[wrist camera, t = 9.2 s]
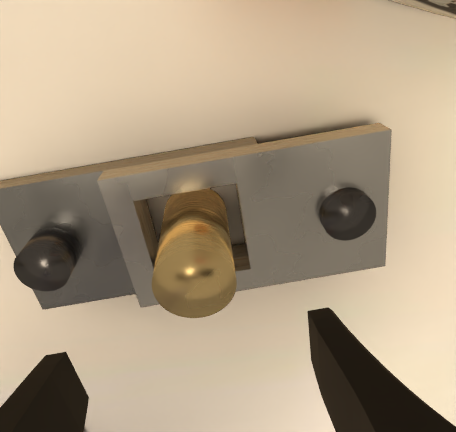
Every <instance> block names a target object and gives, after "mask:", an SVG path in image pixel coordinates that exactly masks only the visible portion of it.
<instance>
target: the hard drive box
mask: <svg viewBox="0 0 456 432" xmlns="http://www.w3.org/2000/svg"><path fill="white" fill-rule="evenodd" d="M390 1H394V2H397V3H400V4H404V5H407V6H411V7H415V8H418V9H422V10H426V11H429V12H432V13H435V14H440V15H444V16H448V17H452V18H456V0H390Z"/></svg>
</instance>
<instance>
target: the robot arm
mask: <svg viewBox="0 0 456 432" xmlns="http://www.w3.org/2000/svg"><path fill="white" fill-rule="evenodd" d="M308 323H309V336H310V349H311V361H312V364H313V368H314V371H315V375H316V379H317V382H318V385H319V389H320V392H321V395H322V398H323V401H324V403H325V406H326V408H327V411H328V413H329V416H330V418H331V421H332V423H333V426H334V428H335V431H336V432H456V427H455V426H454V425H453V424H451V423H450V422H449V421H447V420H446V419H445V418H444V417H442V416H441V415H440V414H439V413H437V412H436V411H435V410H433V409H432V408H431V407H430V406H428V405H427V404H426V403H425V402H424V401H422V400H421V399H420V398H419V397H418V396H416V395H415V394H414V393H413V392H412V391H411V390H409V389H408V388H407V387H406V386H405V385H404V384H403V383H402V382H401V381H399V380H398V379H397V378H396V377H395V376H394V375H393V374H392V373H391V372H390V371H389V370H387V369H386V368H385V367H384V366H383V365H382V364H381V363H380V362H379V361H378V360H377V359H376V358H375V357H374V356H373V355H372V354H371V353H370V352H369V351H368V350H367V349H366V348H365V347H364V346H363V345H362V344H361V343H360V342H359V341H358V339H357V338H356V337H355V336H354V335H353V334H352V333H351V332H350V331H349V330H348V328H347V327H346V326H345V325H344V324H343V323H342V322H341V320H340V319H339V318H338V317H337V316H336V314H335V313H334V312H333V311H332V310H331V309H330V308H323V309H317V310H311V311H308ZM88 399H89V397H88V395H87V393H86V391H85V389H84V387H83V385H82V383H81V381H80V379H79V377H78V375H77V373H76V371H75V369H74V367H73V365H72V363H71V361H70V359H69V357H68V355H67V353H66V352H63V353H57V354H51V355H46V356H45V357H44V358H43V359H42V360H41V361H40V362H39V363H38V365H37V366H36V367H35V368H34V369H33V370H32V371H31V373H30V374H29V375H28V376H27V377H26V378H25V380H24V381H23V382H22V383H21V384H20V385H19V387H18V388H17V389H16V390H15V391H14V392H13V394H12V395H11V396H10V397H9V398H8V399H7V400H6V402H5V403H4V404H3V405H2V406H1V407H0V432H83V431H84V425H85V419H86V413H87V406H88Z"/></svg>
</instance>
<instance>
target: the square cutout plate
mask: <svg viewBox="0 0 456 432" xmlns="http://www.w3.org/2000/svg"><path fill="white" fill-rule="evenodd" d="M390 151H391V129H390V128H388V127H386V126H384V125H382V124H381V123H375V124H369V125H364V126H358V127H352V128H346V129H340V130H335V131H329V132H323V133H317V134H312V135H306V136H300V137H294V138H289V139H283V140H277V141H271V142H266V143H260V144H257V142H256V140H255V138H254V137H249V138H244V139H238V140H232V141H226V142H221V143H215V144H209V145H203V146H198V147H192V148H186V149H180V150H175V151H169V152H163V153H157V154H152V155H146V156H140V157H134V158H129V159H123V160H117V161H111V162H106V163H100V164H94V165H88V166H83V167H77V168H71V169H65V170H60V171H54V172H48V173H42V174H37V175H31V176H25V177H19V178H14V179H8V180H2V181H0V225H1V227H2V229H3V231H4V233H5V235H6V237H7V239H8V241H9V243H10V245H11V247H12V249H13V251H14V253H15V255H16V258H15V261H14V271H15V274H16V276H17V277H18V279H19V280H20V281H21V282H22V283H23V284H25V285H26V286H28V287H30V288H32V289H33V291H34V293H35V295H36V297H37V299H38V301H39V303H40V305H41V307H42V309H49V308H55V307H61V306H67V305H73V304H79V303H85V302H90V301H96V300H102V299H108V298H114V297H120V296H126V295H132V294H136V295H137V298H138V301H139V304H140V307H147V306H152V305H158V304H159V303H158V301H157V300H156V298H155V297H154V294H153V291H152V277H153V271H154V266H155V260H156V255H157V249H158V240H157V237H156V233H155V230H154V226H153V223H152V219H151V216H150V212H149V209H148V205H147V202H146V199H149V198H155V197H160V196H166V195H172V194H178V193H183V192H189V191H195V190H201V189H207V188H212V187H218V186H224V185H230V184H236V188H237V194H238V201H239V207H240V213H241V220H242V226H243V232H244V238H245V244H240V245H234V246H232V253H233V260H234V267H235V274H236V282H237V285H236V291H241V290H247V289H253V288H258V287H264V286H270V285H276V284H282V283H288V282H294V281H300V280H306V279H311V278H317V277H323V276H329V275H335V274H341V273H347V272H353V271H359V270H364V269H370V268H376V267H382V266H385V259H386V238H387V216H388V194H389V173H390Z"/></svg>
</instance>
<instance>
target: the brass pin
mask: <svg viewBox="0 0 456 432" xmlns="http://www.w3.org/2000/svg"><path fill="white" fill-rule="evenodd" d="M236 285H237V282H236V274H235V267H234V260H233V253H232V246H231V239H230V233H229V226H228V219H227V212H226V207H225V204H224V202H223V200H222V198H221V197H220V196H219V195H218V194H217V193H216V192H215V191H213V190H211V189H209V188H207V189H201V190H195V191H189V192H183V193H178V194H173V195H172V196H171V197H170V198H169V200H168V201H167V203H166V206H165V211H164V216H163V222H162V227H161V233H160V238H159V244H158V249H157V255H156V260H155V266H154V271H153V277H152V291H153V294H154V297H155V298H156V300H157V301H158V303H159V304H160V305H161V306H162V307H163V308H165V309H166V310H167V311H169V312H171V313H173V314H175V315H178V316H182V317H187V318H200V317H206V316H209V315H212V314H214V313H217V312H218V311H220V310H222V309H223V308H224V307H225V306H226V305H227V304H228V303H229V302H230V301H231V300H232V298H233V296H234V294H235V291H236Z"/></svg>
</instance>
